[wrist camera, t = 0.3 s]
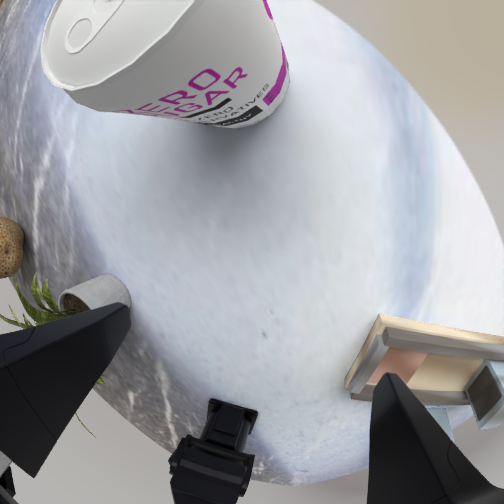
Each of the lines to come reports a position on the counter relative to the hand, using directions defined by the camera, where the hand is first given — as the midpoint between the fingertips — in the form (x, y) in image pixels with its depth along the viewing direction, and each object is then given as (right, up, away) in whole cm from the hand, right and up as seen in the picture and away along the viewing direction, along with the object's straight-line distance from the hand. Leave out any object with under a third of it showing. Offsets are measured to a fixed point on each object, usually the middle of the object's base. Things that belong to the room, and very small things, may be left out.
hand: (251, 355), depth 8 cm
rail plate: (+21, -9, +14) cm, 27 cm away
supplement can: (-1, +16, +10) cm, 19 cm away
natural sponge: (-34, +6, +22) cm, 41 cm away
